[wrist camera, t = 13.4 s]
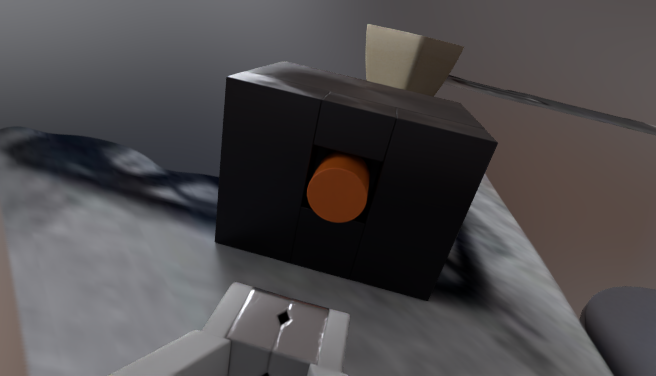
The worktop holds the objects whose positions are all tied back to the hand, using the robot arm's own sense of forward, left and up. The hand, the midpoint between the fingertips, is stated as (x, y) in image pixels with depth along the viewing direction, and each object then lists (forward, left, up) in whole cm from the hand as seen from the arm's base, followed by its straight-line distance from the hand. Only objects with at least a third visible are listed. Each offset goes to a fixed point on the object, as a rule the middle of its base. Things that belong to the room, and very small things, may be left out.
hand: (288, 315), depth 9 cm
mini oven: (0, -19, -9) cm, 22 cm away
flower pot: (-7, -94, -10) cm, 95 cm away
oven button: (0, -13, -4) cm, 14 cm away
